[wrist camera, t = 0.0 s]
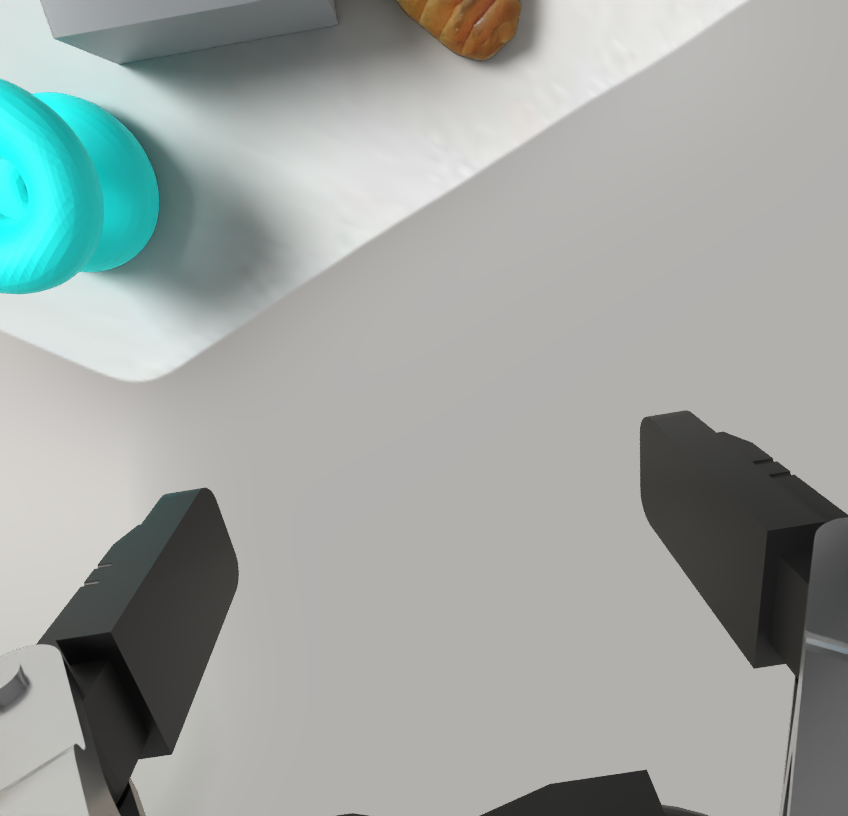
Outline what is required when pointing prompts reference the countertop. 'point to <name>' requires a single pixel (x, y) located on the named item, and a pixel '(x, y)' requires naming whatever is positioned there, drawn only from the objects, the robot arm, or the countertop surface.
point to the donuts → (68, 190)
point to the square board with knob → (177, 24)
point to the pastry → (467, 23)
